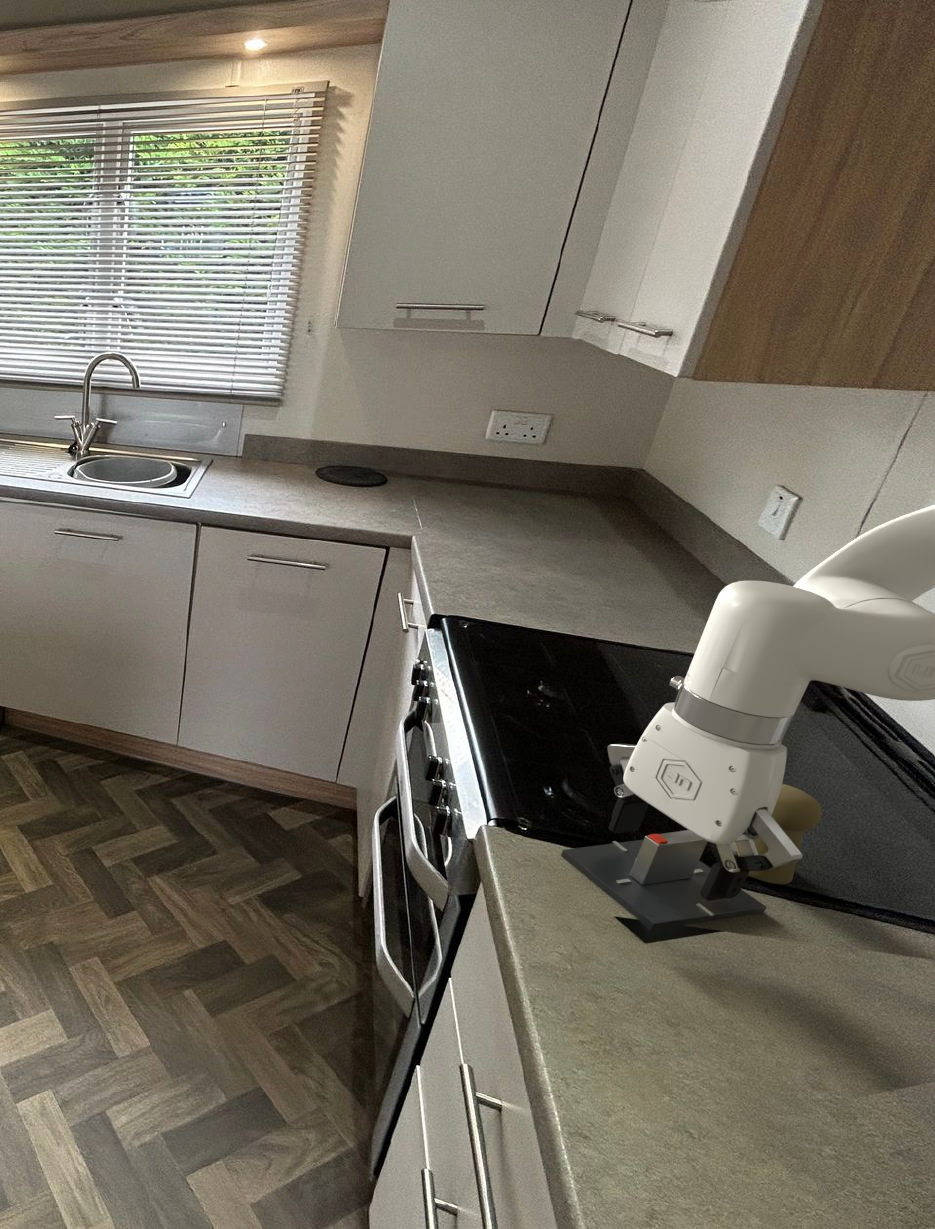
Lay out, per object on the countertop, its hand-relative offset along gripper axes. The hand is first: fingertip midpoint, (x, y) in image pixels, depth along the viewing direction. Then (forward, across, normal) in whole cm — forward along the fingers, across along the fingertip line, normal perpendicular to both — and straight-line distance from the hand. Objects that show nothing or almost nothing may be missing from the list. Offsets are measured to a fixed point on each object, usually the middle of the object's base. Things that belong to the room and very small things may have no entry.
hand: (666, 861), depth 75 cm
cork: (+5, 0, +13) cm, 14 cm away
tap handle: (+2, 0, 0) cm, 2 cm away
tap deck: (+4, 0, 0) cm, 4 cm away
